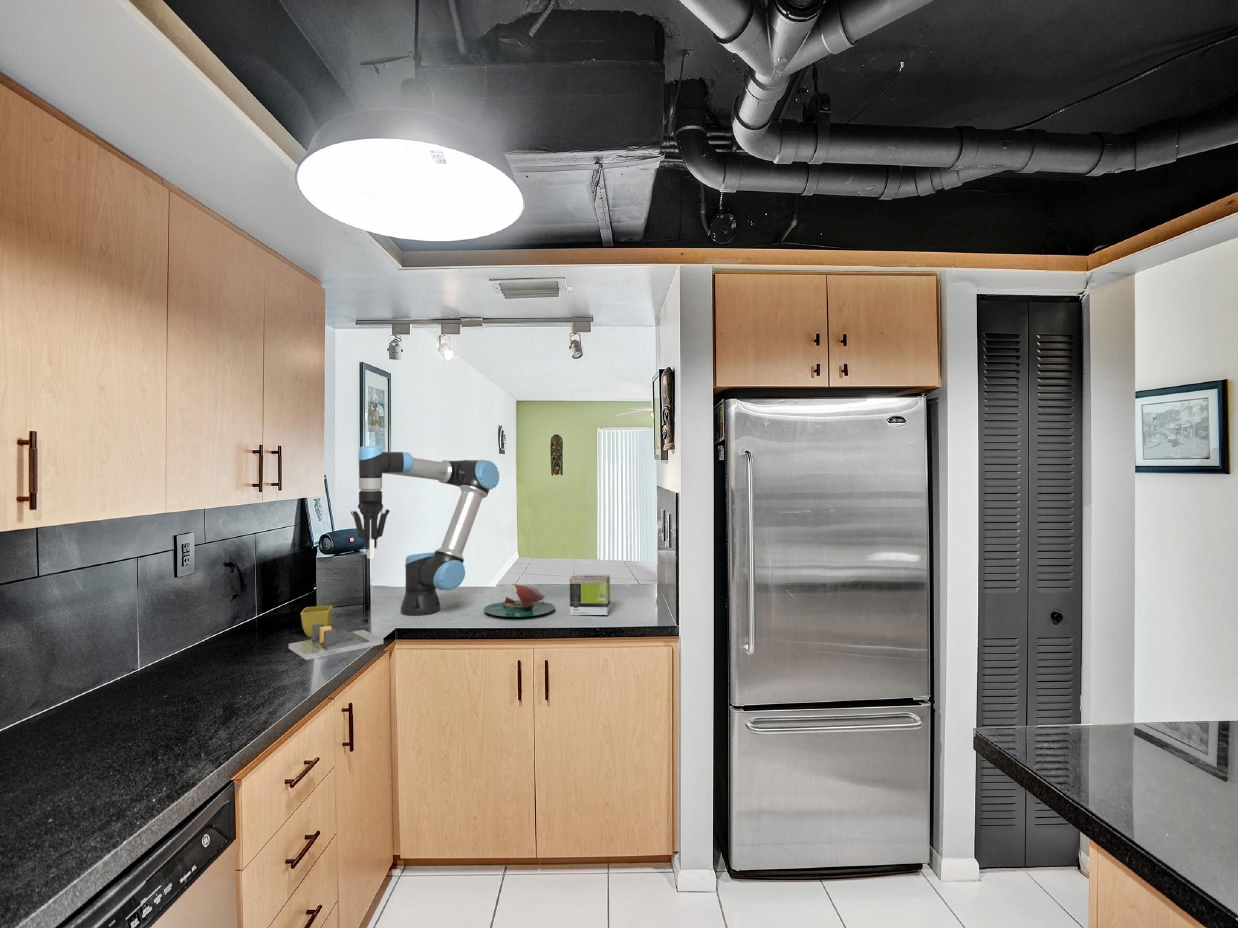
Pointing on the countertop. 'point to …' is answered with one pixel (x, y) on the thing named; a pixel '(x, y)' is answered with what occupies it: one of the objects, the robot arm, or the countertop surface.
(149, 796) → the countertop surface
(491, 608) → the sailing ship model
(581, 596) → the tea box
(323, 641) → the orange upright block
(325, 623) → the flower pot
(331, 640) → the handle
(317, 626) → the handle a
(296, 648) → the panel
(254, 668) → the countertop surface
